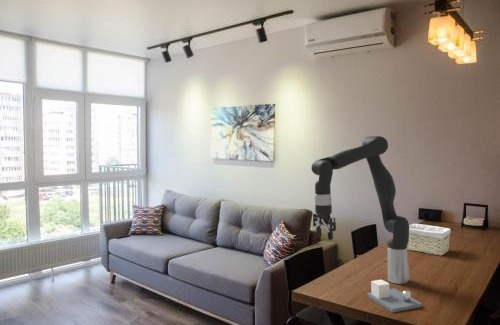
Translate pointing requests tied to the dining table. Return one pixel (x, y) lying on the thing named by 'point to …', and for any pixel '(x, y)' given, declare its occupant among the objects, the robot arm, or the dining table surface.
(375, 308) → the dining table surface
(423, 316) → the dining table surface
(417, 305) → the base plate
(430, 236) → the storage basket
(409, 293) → the stub
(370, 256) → the dining table surface
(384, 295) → the cream rounded cube
